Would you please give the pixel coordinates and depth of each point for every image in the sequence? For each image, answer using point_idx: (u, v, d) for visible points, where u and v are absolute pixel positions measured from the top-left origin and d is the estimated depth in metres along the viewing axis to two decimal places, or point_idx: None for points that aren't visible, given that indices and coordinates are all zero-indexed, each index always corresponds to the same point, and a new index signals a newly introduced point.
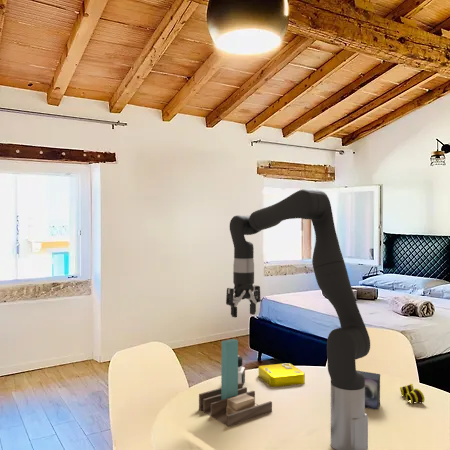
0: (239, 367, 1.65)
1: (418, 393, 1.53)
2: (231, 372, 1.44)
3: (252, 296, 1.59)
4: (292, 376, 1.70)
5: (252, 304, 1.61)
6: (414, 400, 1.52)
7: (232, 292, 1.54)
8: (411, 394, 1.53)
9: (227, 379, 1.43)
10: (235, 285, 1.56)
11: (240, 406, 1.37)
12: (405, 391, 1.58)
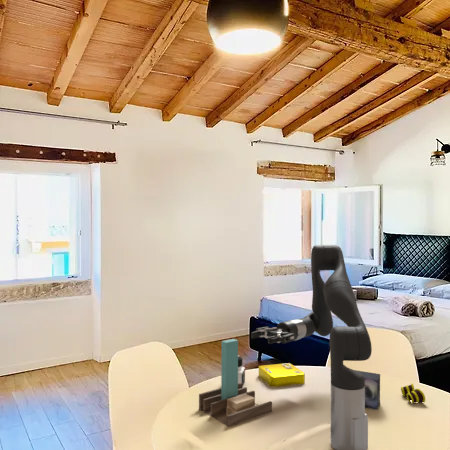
0: (239, 367, 1.65)
1: (419, 393, 1.53)
2: (231, 372, 1.44)
3: (279, 331, 1.56)
4: (292, 376, 1.71)
5: None
6: (415, 400, 1.52)
7: (266, 327, 1.64)
8: (412, 394, 1.53)
9: (227, 379, 1.43)
10: None
11: (240, 406, 1.37)
12: (406, 391, 1.58)
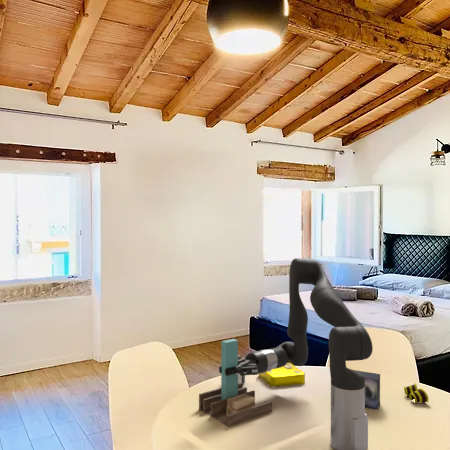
0: None
1: (422, 393, 1.53)
2: None
3: (243, 362, 1.47)
4: (292, 376, 1.71)
5: None
6: (418, 400, 1.52)
7: None
8: (415, 394, 1.53)
9: (227, 379, 1.43)
10: None
11: (240, 406, 1.37)
12: (409, 391, 1.58)
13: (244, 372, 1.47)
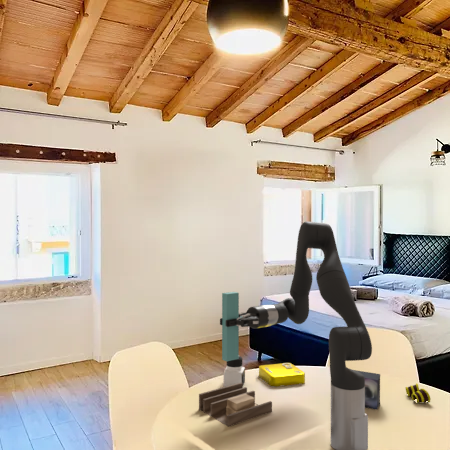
0: (239, 367, 1.65)
1: (424, 393, 1.53)
2: None
3: (243, 315, 1.48)
4: (292, 376, 1.71)
5: None
6: (420, 400, 1.52)
7: None
8: (417, 394, 1.53)
9: (228, 330, 1.44)
10: None
11: (240, 406, 1.37)
12: (411, 391, 1.58)
13: None
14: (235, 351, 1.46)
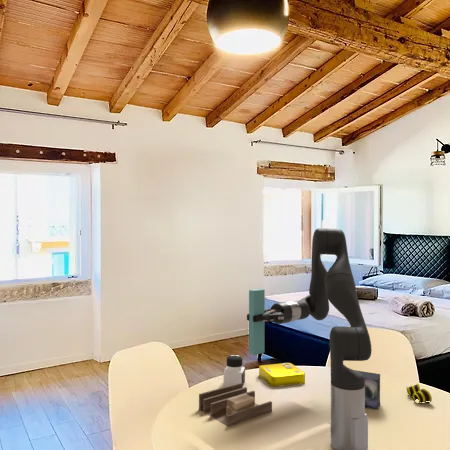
0: (239, 367, 1.65)
1: (425, 393, 1.53)
2: None
3: (269, 311, 1.55)
4: (292, 376, 1.71)
5: None
6: (421, 400, 1.52)
7: None
8: (418, 394, 1.53)
9: (255, 325, 1.51)
10: None
11: (240, 406, 1.37)
12: (412, 391, 1.58)
13: (270, 320, 1.54)
14: (261, 345, 1.53)
